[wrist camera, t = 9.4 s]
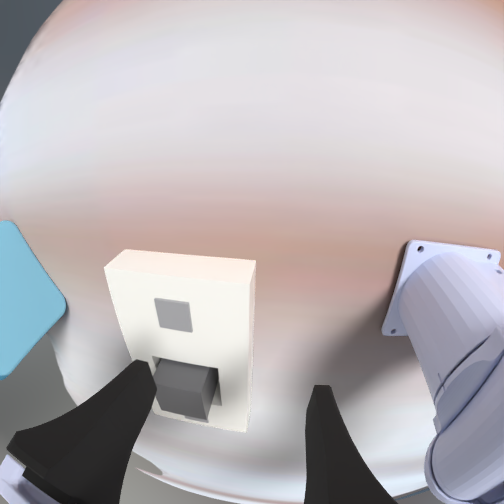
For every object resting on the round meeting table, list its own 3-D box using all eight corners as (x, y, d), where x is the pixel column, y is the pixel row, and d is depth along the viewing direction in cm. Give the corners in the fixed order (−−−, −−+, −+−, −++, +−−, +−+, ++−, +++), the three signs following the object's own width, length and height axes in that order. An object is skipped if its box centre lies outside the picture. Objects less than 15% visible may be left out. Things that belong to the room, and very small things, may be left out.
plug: (217, 342, 22) (200, 393, 17) (220, 372, 24) (206, 420, 19) (173, 335, 23) (149, 382, 18) (180, 365, 25) (161, 410, 20)
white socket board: (256, 260, 19) (249, 285, 16) (250, 409, 26) (246, 434, 23) (125, 249, 20) (102, 268, 17) (163, 393, 27) (153, 415, 24)
